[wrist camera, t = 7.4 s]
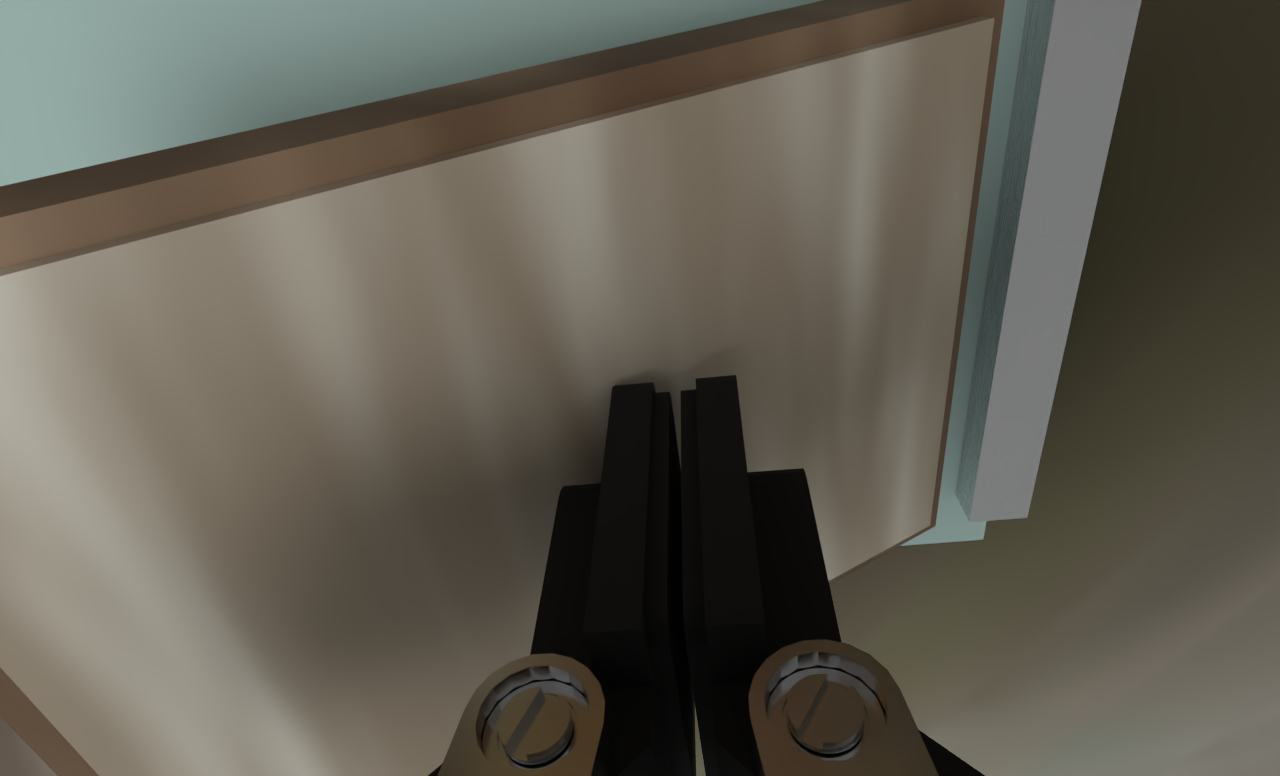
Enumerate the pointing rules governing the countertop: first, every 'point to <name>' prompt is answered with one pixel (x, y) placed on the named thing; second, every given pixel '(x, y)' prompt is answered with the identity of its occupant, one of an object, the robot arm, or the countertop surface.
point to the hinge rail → (1040, 241)
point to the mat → (365, 90)
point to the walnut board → (455, 369)
